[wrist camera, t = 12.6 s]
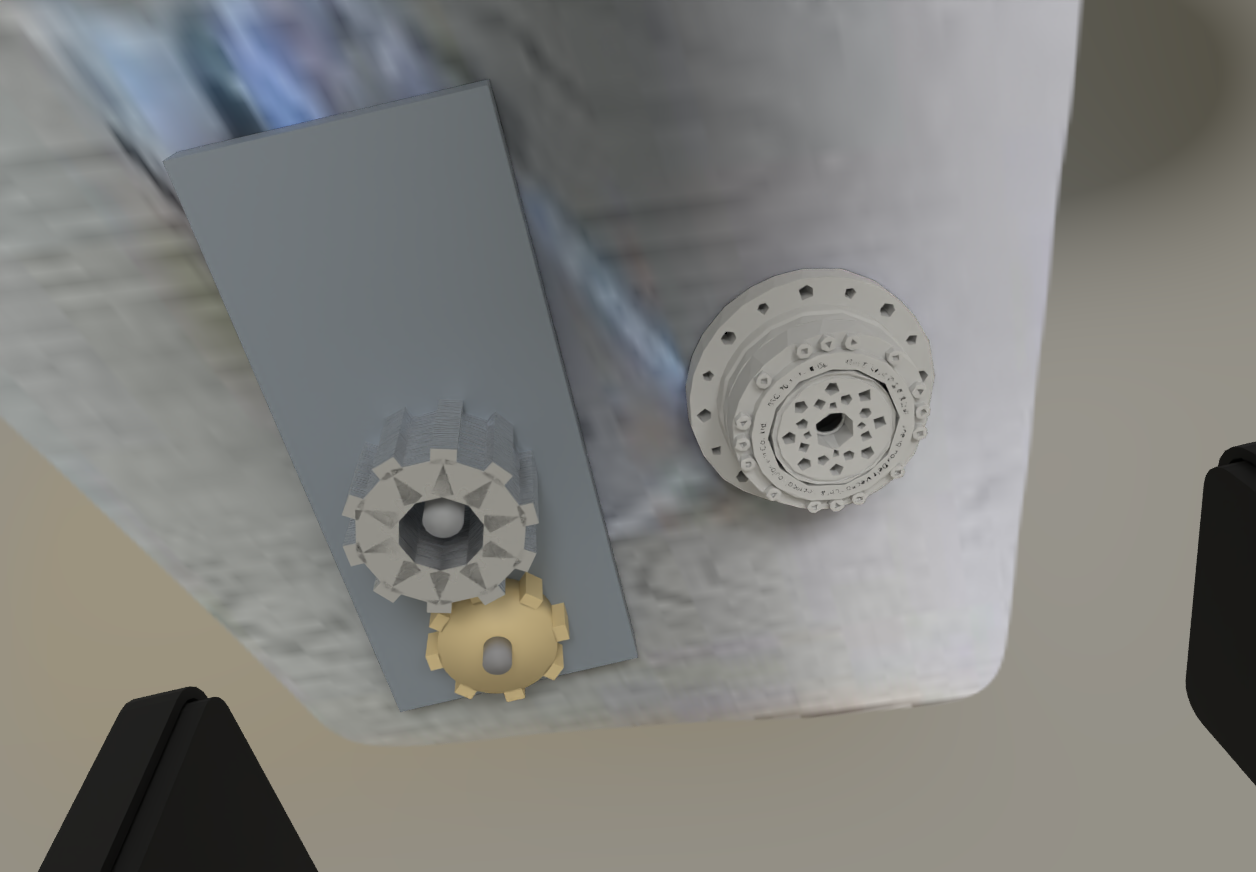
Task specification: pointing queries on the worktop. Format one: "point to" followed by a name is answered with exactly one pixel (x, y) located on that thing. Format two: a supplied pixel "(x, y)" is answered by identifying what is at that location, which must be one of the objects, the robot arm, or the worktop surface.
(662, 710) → the worktop surface
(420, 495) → the steel gear
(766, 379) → the mechanical component
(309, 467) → the gear board
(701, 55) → the worktop surface
